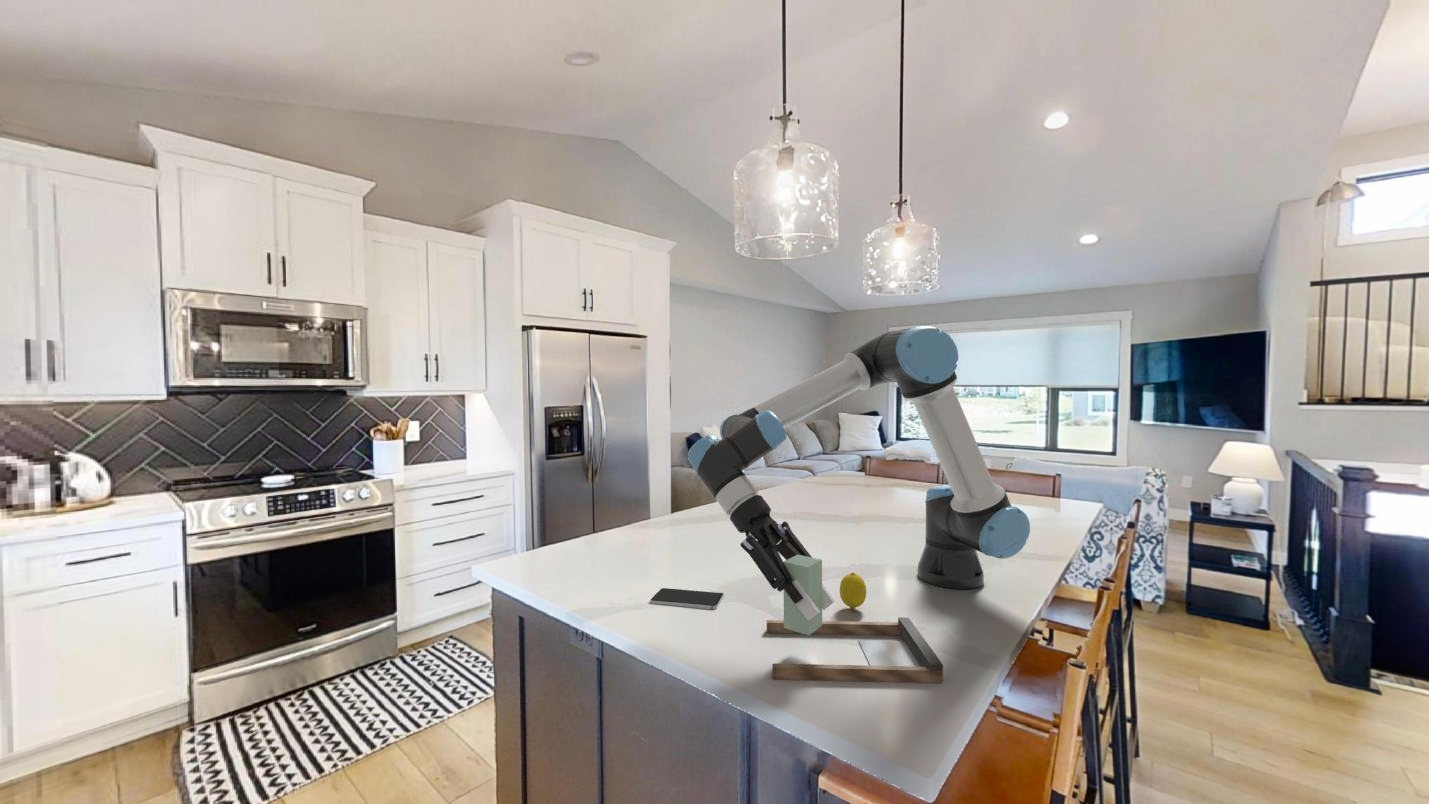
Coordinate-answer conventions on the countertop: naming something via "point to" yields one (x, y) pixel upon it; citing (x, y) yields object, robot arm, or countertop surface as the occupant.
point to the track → (870, 655)
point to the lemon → (853, 590)
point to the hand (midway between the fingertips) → (821, 610)
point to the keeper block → (811, 582)
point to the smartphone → (688, 598)
